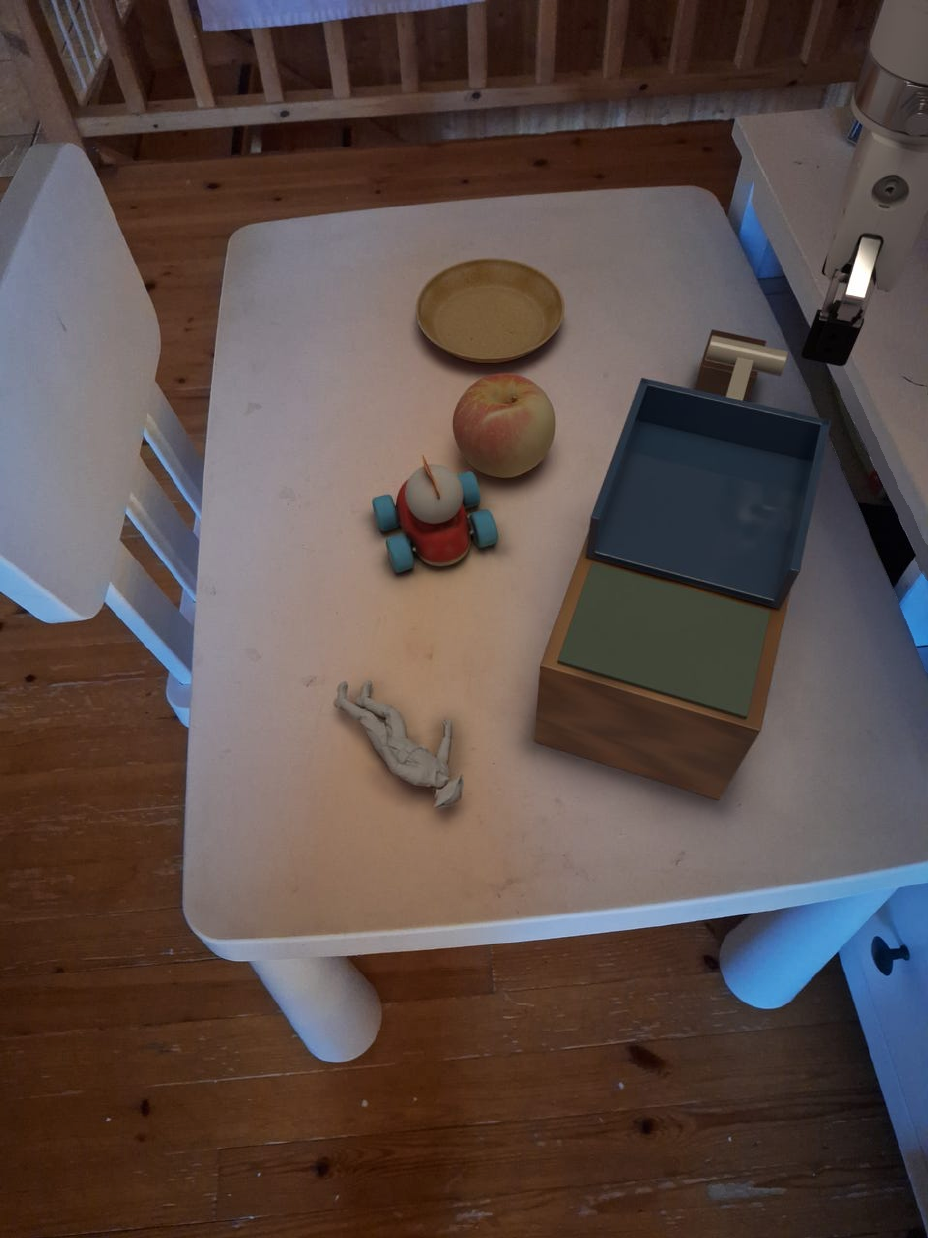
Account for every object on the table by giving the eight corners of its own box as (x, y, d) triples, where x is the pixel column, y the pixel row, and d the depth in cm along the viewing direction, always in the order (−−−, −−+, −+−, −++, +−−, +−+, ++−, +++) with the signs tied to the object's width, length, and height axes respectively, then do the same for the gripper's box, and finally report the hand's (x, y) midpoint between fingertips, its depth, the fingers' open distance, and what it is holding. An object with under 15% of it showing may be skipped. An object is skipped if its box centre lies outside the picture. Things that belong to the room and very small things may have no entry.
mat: (769, 614, 59) (770, 610, 58) (745, 719, 55) (747, 716, 55) (591, 565, 61) (591, 562, 61) (557, 663, 57) (557, 660, 57)
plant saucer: (575, 289, 94) (577, 268, 92) (546, 389, 87) (548, 368, 84) (439, 270, 96) (437, 249, 94) (399, 365, 89) (397, 345, 87)
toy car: (469, 481, 81) (466, 400, 73) (502, 556, 77) (502, 479, 68) (371, 507, 80) (356, 428, 71) (398, 585, 75) (385, 511, 67)
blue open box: (823, 407, 68) (845, 357, 64) (780, 610, 59) (802, 567, 55) (651, 369, 71) (661, 318, 66) (584, 556, 61) (591, 512, 57)
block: (753, 381, 86) (766, 340, 82) (743, 418, 84) (756, 377, 80) (701, 370, 87) (711, 328, 83) (689, 405, 85) (700, 365, 81)
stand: (775, 553, 76) (818, 457, 66) (719, 800, 65) (760, 731, 55) (613, 511, 79) (630, 413, 68) (533, 741, 68) (539, 665, 57)
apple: (440, 475, 81) (435, 412, 75) (482, 410, 86) (481, 344, 79) (529, 507, 79) (532, 444, 72) (567, 438, 83) (574, 372, 76)
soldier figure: (396, 678, 72) (507, 744, 65) (380, 733, 73) (487, 805, 66) (322, 680, 66) (434, 753, 59) (305, 740, 67) (414, 820, 60)
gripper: (979, 180, 49) (868, 407, 64) (998, 24, 57) (896, 256, 72) (838, 156, 51) (761, 383, 65) (876, 7, 59) (800, 238, 73)
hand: (832, 316), depth 68 cm, fingers open, 9 cm apart
